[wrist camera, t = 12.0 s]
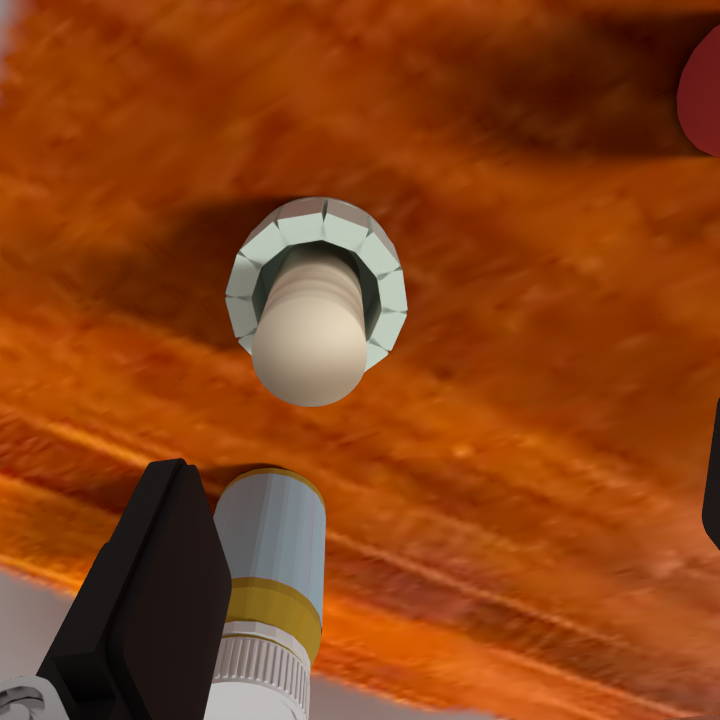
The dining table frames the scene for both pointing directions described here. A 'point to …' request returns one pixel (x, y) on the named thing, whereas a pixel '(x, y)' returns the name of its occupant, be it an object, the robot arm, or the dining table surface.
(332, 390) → the plug
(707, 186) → the dining table surface
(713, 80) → the beer can
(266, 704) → the bottle
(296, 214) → the cup
